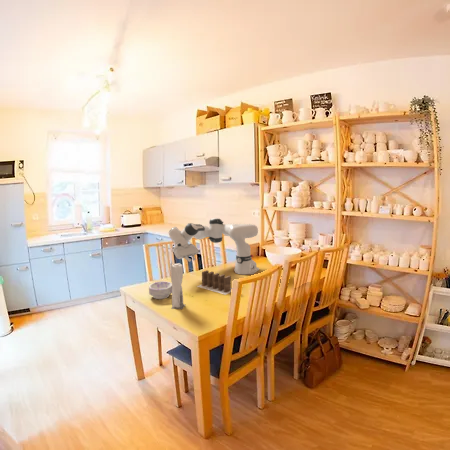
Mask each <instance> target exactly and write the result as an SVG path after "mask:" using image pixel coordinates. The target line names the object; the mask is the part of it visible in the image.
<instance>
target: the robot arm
mask: <svg viewBox="0 0 450 450" xmlns="http://www.w3.org/2000/svg"><path fill="white" fill-rule="evenodd" d="M258 234H259V227H258V226H257V225H256V224H253V223H252V224H251V223H224V221H223V220H222V219H220V218H219V217H212V218H210V220H209V226H206V225H203V224H200V223H199V224H198V223H192V222H189V223H186V225H185V227H184V228H182V230H180V229H179V228H178V227H177V226H174V227H172V228H171V229H170V230H169V231H168V235H169V237H170V239H171V241H172V242H173V243H174V245H175V246H174V247H173V249H172V252H173V254H174V256H175V257H176V259H177V260H181V259H185V260H186V261H188V263H190V262H192V261H196V257H195V256H196V255H198V254H199V253H200V252H199V251H200V250H199V249H198V247H197V246H196V245H194V244H193V243H189V242H190V241H191V240H192V239H193V238H194V239H196V240H203V239H206V238H207V239H208V240H209V241H210V242H211V243H214V244H218V243H222V241H223V235H224V236H227V237H229V238H230V239H231V240H232V241H233V242H234V243H235V245H236V255H235V256H236V257H235V262H234V269H233V271H234V273H235V274H238V275H254V274H255V273H257V272H259V270H260V267H257V262H256V261H255V260H253V259H252V258H254V254H251V245H250V244H249V243H247V242H246V240H245V239H251V238H253V237H256V236H257V235H258ZM189 257H191V258H189Z"/></svg>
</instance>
